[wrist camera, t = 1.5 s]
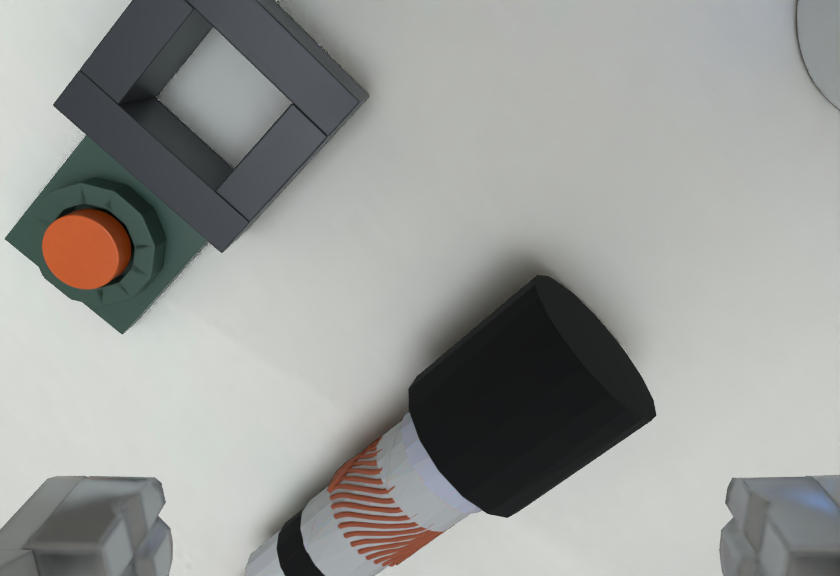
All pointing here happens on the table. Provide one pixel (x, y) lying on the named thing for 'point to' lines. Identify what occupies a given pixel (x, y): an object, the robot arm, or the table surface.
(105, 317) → the switch box
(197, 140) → the grey square frame
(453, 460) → the multicoloured piece
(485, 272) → the table surface
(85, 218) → the power button
